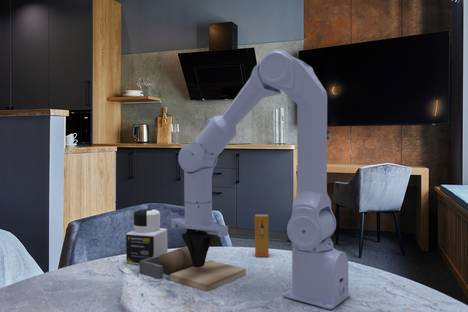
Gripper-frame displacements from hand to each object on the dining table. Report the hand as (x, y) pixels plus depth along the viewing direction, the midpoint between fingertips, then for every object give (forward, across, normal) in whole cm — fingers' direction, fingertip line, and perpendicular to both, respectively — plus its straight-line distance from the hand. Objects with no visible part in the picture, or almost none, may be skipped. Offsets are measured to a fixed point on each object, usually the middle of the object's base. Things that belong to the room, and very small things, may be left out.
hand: (198, 266), depth 83 cm
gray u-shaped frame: (+2, +8, 0) cm, 8 cm away
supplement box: (+2, -2, -20) cm, 20 cm away
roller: (0, +6, 0) cm, 6 cm away
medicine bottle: (+2, +17, 0) cm, 17 cm away
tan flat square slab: (+2, -2, 0) cm, 3 cm away
